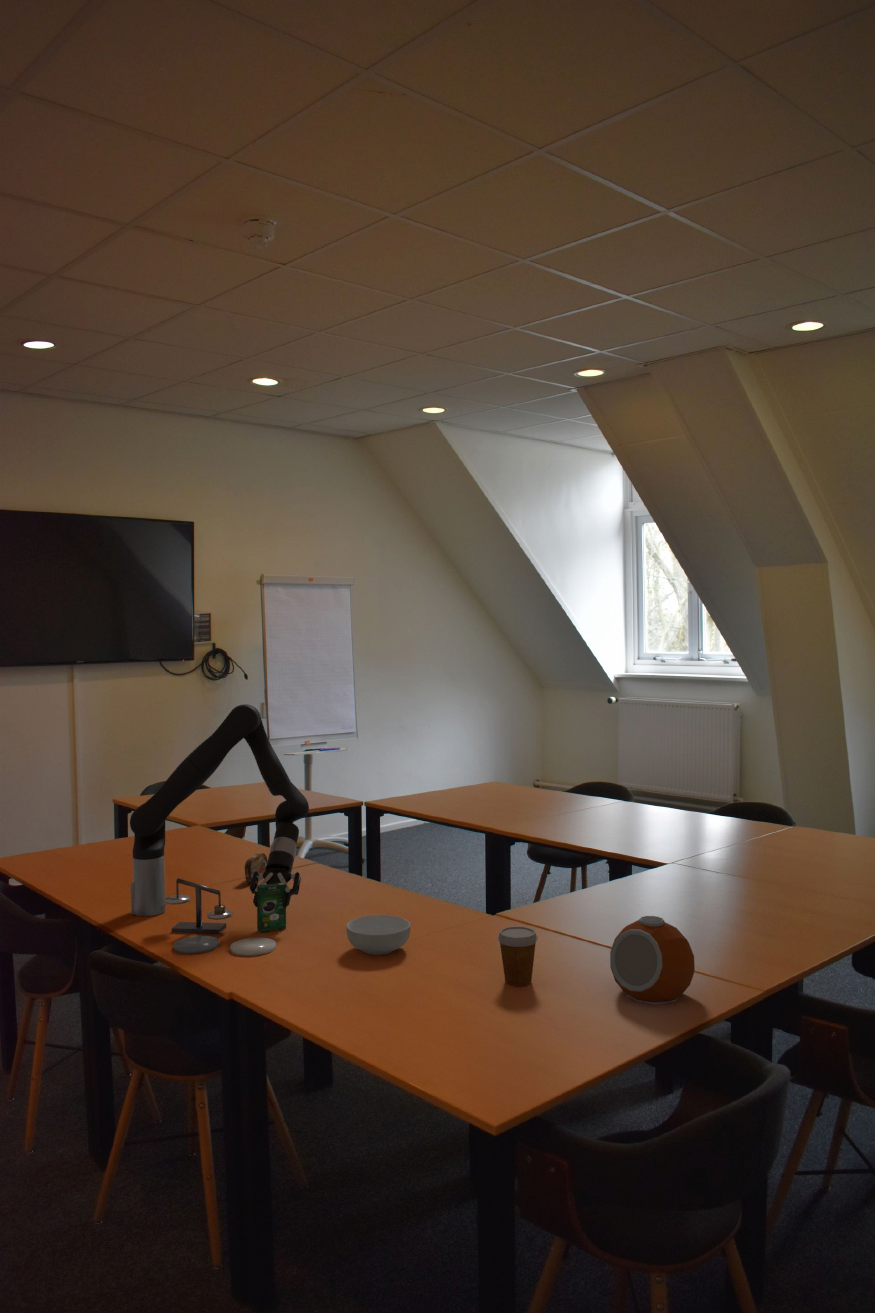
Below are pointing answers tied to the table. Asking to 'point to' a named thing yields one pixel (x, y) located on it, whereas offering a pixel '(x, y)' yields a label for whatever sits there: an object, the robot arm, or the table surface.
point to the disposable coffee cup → (517, 954)
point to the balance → (199, 911)
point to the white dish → (253, 946)
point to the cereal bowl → (378, 933)
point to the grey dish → (196, 945)
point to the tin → (255, 866)
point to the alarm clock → (652, 961)
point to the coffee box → (271, 907)
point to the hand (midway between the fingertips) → (270, 906)
